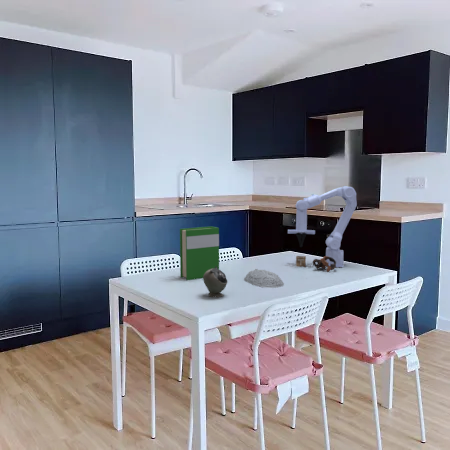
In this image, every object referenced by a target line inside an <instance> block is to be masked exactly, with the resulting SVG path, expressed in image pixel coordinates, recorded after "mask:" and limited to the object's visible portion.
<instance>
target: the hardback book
mask: <svg viewBox="0 0 450 450" xmlns="http://www.w3.org/2000/svg"><path fill="white" fill-rule="evenodd" d="M179 261H180V265H179V266H180V273H179V274H180V276H179V277H180V278H185V280H186V281H193V280H200V279H203V276H204V274H205V272H206V271H208V270H210V269H212V268H215V266H216V267H217V268H218V269H219V270H220V228H219V227H217V226H199V227H188V228H187V227H186V228H179Z"/></svg>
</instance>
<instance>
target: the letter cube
mask: <svg viewBox="0 0 450 450" xmlns="http://www.w3.org/2000/svg"><path fill="white" fill-rule="evenodd" d="M306 259H307V257H306V256H305V255H296V257H295V267H297V268H298V267H299V268H300V267H301V268H304V267H305V268H306V264H307V263H306Z"/></svg>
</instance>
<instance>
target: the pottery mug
mask: <svg viewBox="0 0 450 450" xmlns="http://www.w3.org/2000/svg"><path fill="white" fill-rule="evenodd" d="M327 259H329V260H330V261H331V262H334V264H330V266H329V265H328V264H329V263H328V262H326V260H327ZM312 265H313V266H314V267H315V268H316V270H318V269H321V268H323V269H326V270H325V271H326V272H327V273H330V271H333V270H335V268H337V267H336V261H335V260H334V259H333V258H331V257H328V256H326V255H325V256H323V257H321V258H320V259H318V258H314V259H313V260H312ZM326 266H327V267H326Z"/></svg>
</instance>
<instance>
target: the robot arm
mask: <svg viewBox="0 0 450 450" xmlns="http://www.w3.org/2000/svg"><path fill="white" fill-rule="evenodd" d="M333 197H341V198H342V199H343V200H344V201H343V202H344V203H345V207H344V209H343V211H342V213H341V215H340V217H339V219H338V221H337V223H336V225H335V227H334V229H333V231H332V232H331V233H330V235H329V236H328V237H327V238H326V240H325V244H326V246H327V247H326V248H325V256H328V257H331V258H333V259H334V260H335V261H336V267H335V268H344V262H345V261H344V250H343V249H340V248H341V242H342V239H343V234H344V232H345V230H346V228H347V226H348V225H349V222H350V220H351V218H352V216H353V214H354V212H355V210H356V208H357V205H358V203H357V192H356V190H355V188H354V187H353V186H347V185H343V186H339V187H336V188H334V189H331V190H329V191H326V192H325V193H322V194H320V195H319V194H314V193H313V194H311V195H310V196H307V197H303V198H302V199H300V200H297V201H296V203H295V209H296V215H295V216H296V217H295V221H296V222H295V229H287V234H290V235H291V234H294V235H295V236H296V237H297V240H298V244H299V248H303V246H304V242H305V239H306V237H307V235H315V234H316V230H314V229H313V230H312V229H307V228H308V226H307V225H308V212H307V211H308V209H312V208H314V207H316V206H319V205H321V203H322V201H326V200H329V199H331V198H333ZM326 262H328V263H329V264H328V265H329V266H330V264H334V262H331V261H330V260H329V259H327V260H326ZM325 268H327V266H326V267H325Z"/></svg>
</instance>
